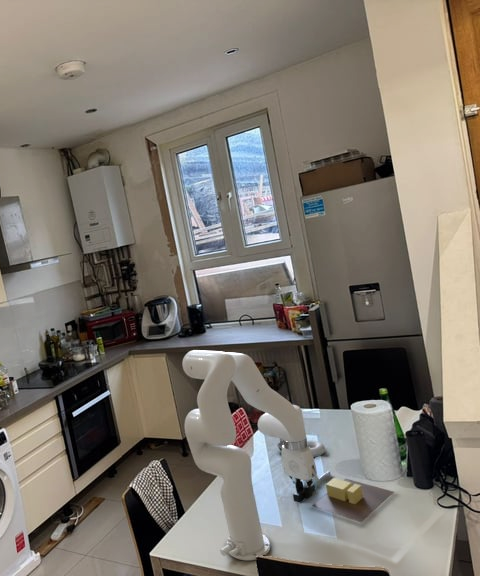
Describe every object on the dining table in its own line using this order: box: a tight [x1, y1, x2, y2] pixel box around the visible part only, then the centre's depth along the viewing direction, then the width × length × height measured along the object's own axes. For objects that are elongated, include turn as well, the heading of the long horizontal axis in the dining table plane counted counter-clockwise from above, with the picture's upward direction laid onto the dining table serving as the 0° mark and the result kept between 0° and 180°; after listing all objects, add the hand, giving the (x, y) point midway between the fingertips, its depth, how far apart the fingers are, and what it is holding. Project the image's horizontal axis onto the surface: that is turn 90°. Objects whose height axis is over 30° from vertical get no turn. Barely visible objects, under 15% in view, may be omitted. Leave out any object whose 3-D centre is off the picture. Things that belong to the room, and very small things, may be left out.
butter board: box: [311, 478, 394, 523], centre depth 161 cm, size 20×16×1 cm
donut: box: [307, 439, 326, 458], centre depth 198 cm, size 10×4×10 cm
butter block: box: [325, 477, 352, 501], centre depth 164 cm, size 5×6×4 cm
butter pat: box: [347, 484, 363, 504], centre depth 160 cm, size 5×2×4 cm, turn 124°
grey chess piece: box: [276, 438, 284, 457], centre depth 201 cm, size 6×6×12 cm
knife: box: [292, 470, 332, 504], centre depth 171 cm, size 20×2×3 cm, turn 124°
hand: (304, 495), depth 168 cm, fingers closed on knife, 2 cm apart
